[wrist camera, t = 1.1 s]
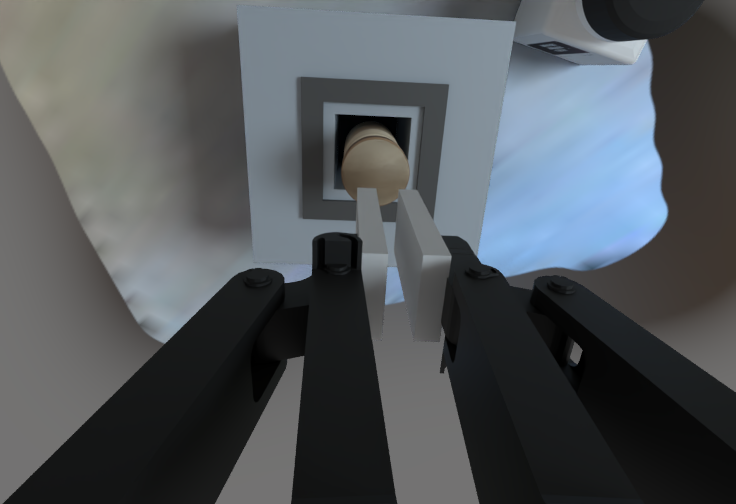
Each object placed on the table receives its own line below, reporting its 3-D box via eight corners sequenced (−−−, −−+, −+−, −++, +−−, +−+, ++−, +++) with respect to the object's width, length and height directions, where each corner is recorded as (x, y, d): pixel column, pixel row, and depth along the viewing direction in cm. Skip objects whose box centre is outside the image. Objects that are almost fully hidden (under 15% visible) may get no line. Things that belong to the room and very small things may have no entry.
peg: (344, 119, 32) (341, 136, 24) (397, 121, 33) (412, 140, 24) (343, 171, 34) (340, 205, 26) (393, 174, 34) (406, 207, 26)
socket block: (266, 20, 36) (235, 3, 26) (475, 32, 37) (518, 20, 27) (274, 221, 43) (252, 264, 33) (449, 227, 44) (476, 271, 34)
